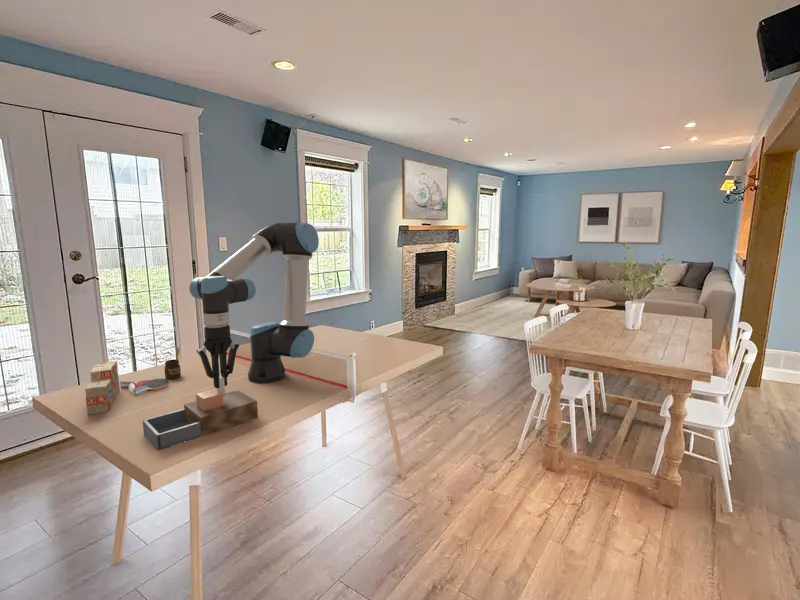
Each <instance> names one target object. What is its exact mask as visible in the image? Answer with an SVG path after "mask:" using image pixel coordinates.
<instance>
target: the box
mask: <svg viewBox="0 0 800 600" xmlns="http://www.w3.org/2000/svg"><path fill="white" fill-rule="evenodd" d="M142 428H143V435H144V436H145V437H146V438H147V439H148V440H149V442H150V443H151V444H152V445H153V446H154V448H156V450H157V451H161V450H164V449H168V448H170V446H171V447H173V446H172V445H174V446H176V445H175V444H177V445H179V444H178V443H180V444H182V443H181V442H183V443H185V442H184V441H186V442H189V441H192V440H195V439H198V438H197V437H199V438H201V437H202V436H201V424H200V422H197V423H193V424H190V425H189V424H188V423H187V422H186V421H185V410H184V408H182V409H179V410H175V411H171V412H167V413H164V414H159V415H156V416H152V417H148V418H146V419H145V418H144V419H142ZM200 436H201V437H200ZM194 438H195V439H194ZM191 439H192V440H191ZM188 440H189V441H188Z"/></svg>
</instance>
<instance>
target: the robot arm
mask: <svg viewBox="0 0 800 600" xmlns="http://www.w3.org/2000/svg"><path fill="white" fill-rule="evenodd" d="M319 240H320V239H319V235H318V232H317V230H316V228H315V227H314V226H313V225H312V224H310V223H308V222H300V221H299V222H276V223H272V224H269V225H268V226H266V227H263V229H260V230H259V231H258V232H255V234H253V235H252V236H251V237H250V239H249V242H248V243H246V244H245V245H244V246H242V247H241V248H240V249H239V250H238V251H236V252H235V253H234V254H233V255H231V256H230V257H228V258H227V259H226V260H225V261H224V262H222V263H221V264H220V265H218V266H217V267H216V268H215V269H214V270H212V271H211V272H209V273H208V274H207V275H205V276H200V277H195V278H193V279H192V280H191V282H189V288H188V289H189V293H190V295H191V296H192V298H195V299H198V300H201V302H202V303H201V304H202V317H203V319H202V320H203V325H204V327H203V331H204V343H203V346H202V347H201V348H199V349H197V350H196V353H197V354H198V355H199V357H200V360H201V362H202V365H203V368H204V371H205V374H206V376H207V377H208V378H210V379H213V387H214V389H216V390H217V391H219V392H220V393H222V394H223V397H225V393H226V387H227V386H228V377H229V375H230V374H233V371H234V366H235V361H236V357H237V356H236V355H237V351H238V349H239V347H240V344H239V343H236V342H233V340H232V338H231V326H230V306H229V305H231V304H232V305H233V304H236V303H237V304H238V303H240V302H241V303H242V302H246V301H249V300H252V299H253V298H254V297H255V296H256V292H257V291H256V288H257V287H256V285H255V283H254V282H253V281H252V280H251V279H249V278H240V277H241V276H242V275H244V274H245V273H246V272H247V271H248V270H249V269H251V267H252V266H254V265H255V264H257V262H259V261H260V260H261V259H262V258H263V257H265V258H266V257H269V256H270V255H271V254H273V253H276V252H282V257H283V258H284V259H285V282H284V297H283V299H284V300H283V319H282V320H281V321H280V322H278V321H271V322H270V321H269V322H268V321H267V322H263V323H258V324H255V325H252V326H251V328H250V331H249V332H250V333H249V334H250V335H249V337H250V339H249V341H250V351H251V353H250V354H251V363H250V366H249V370H248V373H247V378H248V379H249V380H248V379H247V380H248V381H249V382H251V383H256V384H267V383H269V384H271V383H275V382H278V380H279V381H281V380H283V379H285V378H286V377H287V376H286V374H287V373H286V368H285V365H284V364H283V361H282V356H283V357H288V358H292V359H295V358H297V359H301V358H306V357H307V356H308V355H309V353H310V352H311V351H312V349H313V346H314V343H315V335H314V331H312V330H311V329H309V328H310V326H309V325H310V324H309V322H308V321H307V319H306V313H307V312H306V309H307V292H308V290H307V289H308V288H307V287H308V269H309V268H308V266H309V261H310V260H311V259H312V258H313V253H315V252H317V250H318V248H319V244H320V243H319V242H320V241H319ZM228 350H229V351H228ZM207 352H208V353H209V354H210V357H211V363H210V361H209V358H208V355H207ZM227 352H228V353H227ZM227 355H228V356H227ZM284 377H285V378H284Z"/></svg>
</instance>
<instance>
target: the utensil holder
mask: <svg viewBox="0 0 800 600" xmlns="http://www.w3.org/2000/svg"><path fill="white" fill-rule="evenodd" d="M166 354H167V356H169V353H164V356H166ZM175 355H176V357H175V359H171V357H169V358H170V359H166V357H163V359H164V361H165V362H164V365H165V366H164V377H165V379H166V378H168V379H167V380H175V379H179V378H180V377H181V375H182V372H181V365H180V362H179V360H178V356H179V355H180V347H177V348H176V353H175Z"/></svg>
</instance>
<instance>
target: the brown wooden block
mask: <svg viewBox="0 0 800 600" xmlns="http://www.w3.org/2000/svg"><path fill="white" fill-rule="evenodd" d="M258 408H259V407H258V400H256V399H255V398H253V397H251V396H249V395H247V394H246V393H244V392H242V391H241V390H239V389H236V390H233V391H230V392H225V397H223V406H221V407H217V408H214V409H210V410H206V411H203V410H202V409H201V408H199V407H198V406H197V402H196V400H195V401H190V402H187V403H184V404H183V409H184V410H185V421H186V422H187V423H188V424H189V425H190V424H193V423H197V422H200V424H201V435H202V436H201V437H204V435H205V436H207V435H206V434H208V435H210V434H209V433H211V434H213V432H214V433H216V431H217V432H220V431H223V430H225V428H227V429H229V427H230V428H232V426H233V427H235V425H236V426H239V425H241V424H244V423H248V422H251V421H254V420H257V419H259V414H258V410H259V409H258ZM238 424H239V425H238ZM222 429H223V430H222ZM219 430H220V431H219Z"/></svg>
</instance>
